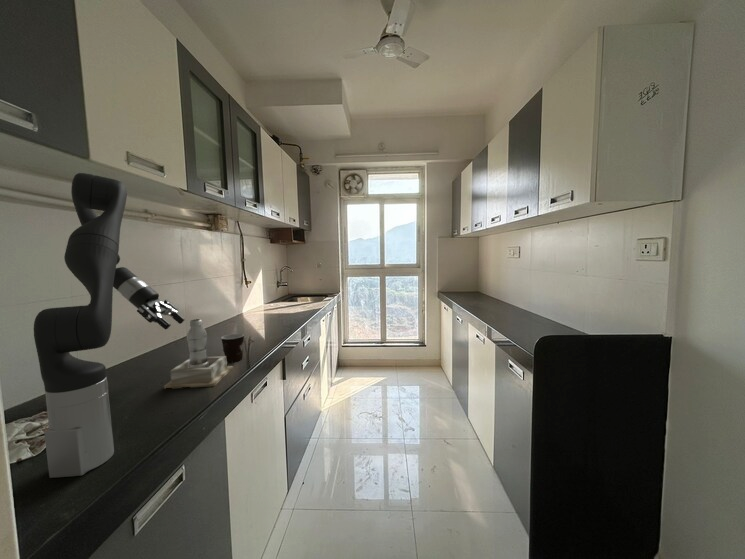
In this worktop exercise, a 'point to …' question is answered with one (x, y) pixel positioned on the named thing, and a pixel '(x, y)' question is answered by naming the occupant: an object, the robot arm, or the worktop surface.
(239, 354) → the coffee mug
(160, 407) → the worktop surface
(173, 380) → the plate
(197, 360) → the plastic bottle
